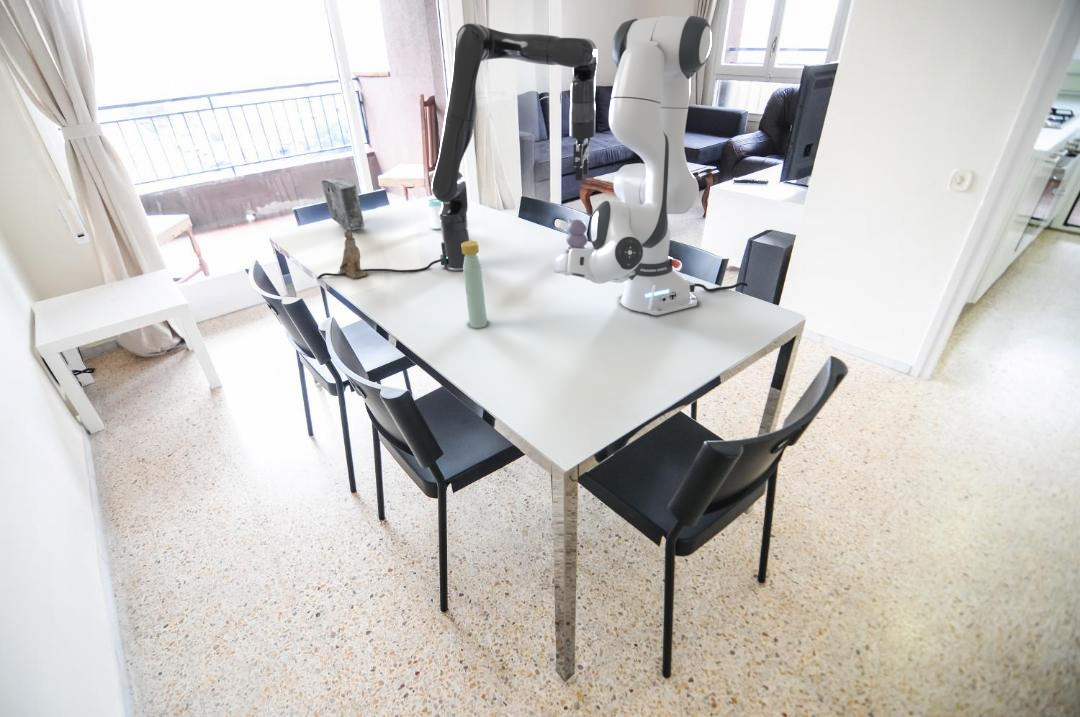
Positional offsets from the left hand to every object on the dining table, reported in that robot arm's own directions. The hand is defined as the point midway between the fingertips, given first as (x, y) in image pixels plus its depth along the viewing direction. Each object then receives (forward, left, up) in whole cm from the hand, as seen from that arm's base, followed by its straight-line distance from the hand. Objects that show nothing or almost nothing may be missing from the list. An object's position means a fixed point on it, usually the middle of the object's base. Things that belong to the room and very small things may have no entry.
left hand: (581, 177), depth 154 cm
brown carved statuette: (-81, -14, -32) cm, 88 cm away
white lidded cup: (-73, +43, -32) cm, 91 cm away
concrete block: (-115, +37, -32) cm, 125 cm away
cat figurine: (-6, +23, -32) cm, 40 cm away
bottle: (-22, -42, -32) cm, 57 cm away
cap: (-22, -42, -9) cm, 48 cm away
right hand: (+6, -28, -20) cm, 35 cm away
